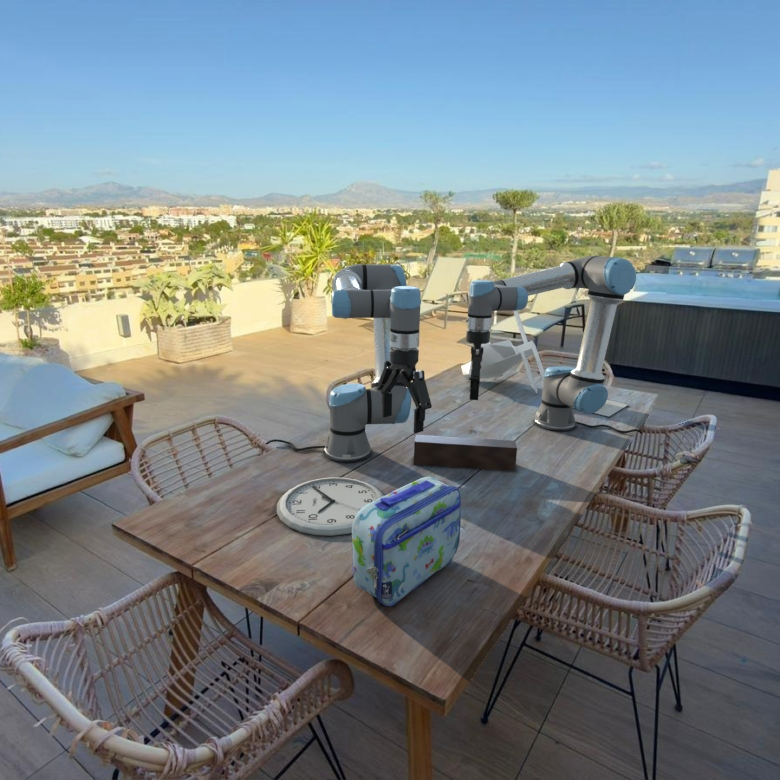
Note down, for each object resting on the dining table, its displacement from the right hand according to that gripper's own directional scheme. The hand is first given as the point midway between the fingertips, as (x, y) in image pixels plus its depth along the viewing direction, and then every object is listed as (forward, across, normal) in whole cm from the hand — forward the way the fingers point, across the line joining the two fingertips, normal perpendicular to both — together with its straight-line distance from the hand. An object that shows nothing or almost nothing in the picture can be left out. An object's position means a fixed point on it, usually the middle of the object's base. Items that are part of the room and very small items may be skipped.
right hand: (473, 393), depth 173 cm
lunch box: (+21, +71, -13) cm, 75 cm away
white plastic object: (+20, -79, +14) cm, 83 cm away
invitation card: (+20, -58, +56) cm, 83 cm away
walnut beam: (+21, +11, -2) cm, 23 cm away
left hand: (-1, +36, -19) cm, 40 cm away
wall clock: (+21, +44, -37) cm, 61 cm away
